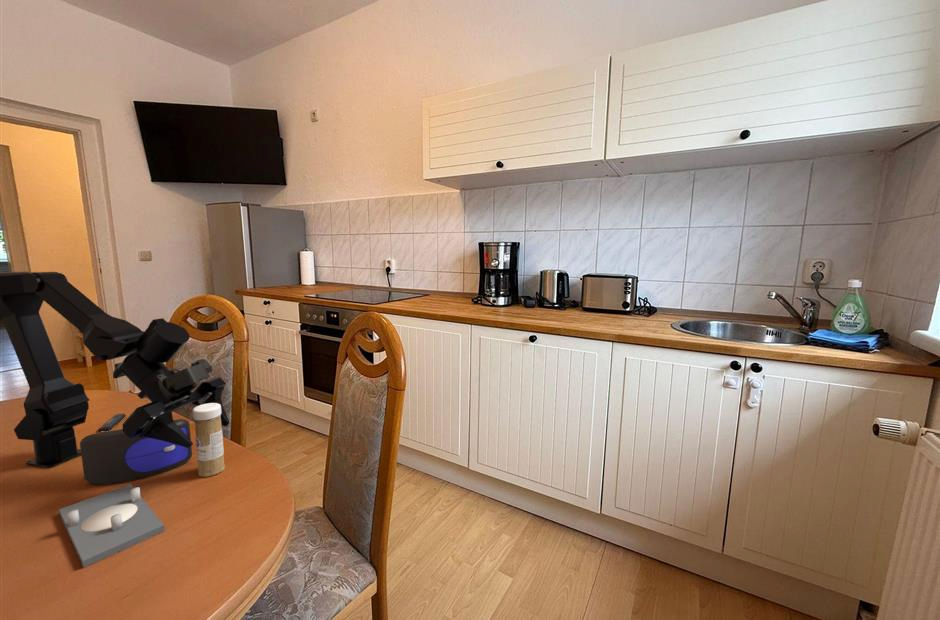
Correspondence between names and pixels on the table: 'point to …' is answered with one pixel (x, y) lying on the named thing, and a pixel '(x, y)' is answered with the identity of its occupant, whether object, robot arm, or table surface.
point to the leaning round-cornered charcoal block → (130, 456)
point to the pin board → (109, 523)
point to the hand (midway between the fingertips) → (210, 434)
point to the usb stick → (112, 422)
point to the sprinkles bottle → (209, 439)
